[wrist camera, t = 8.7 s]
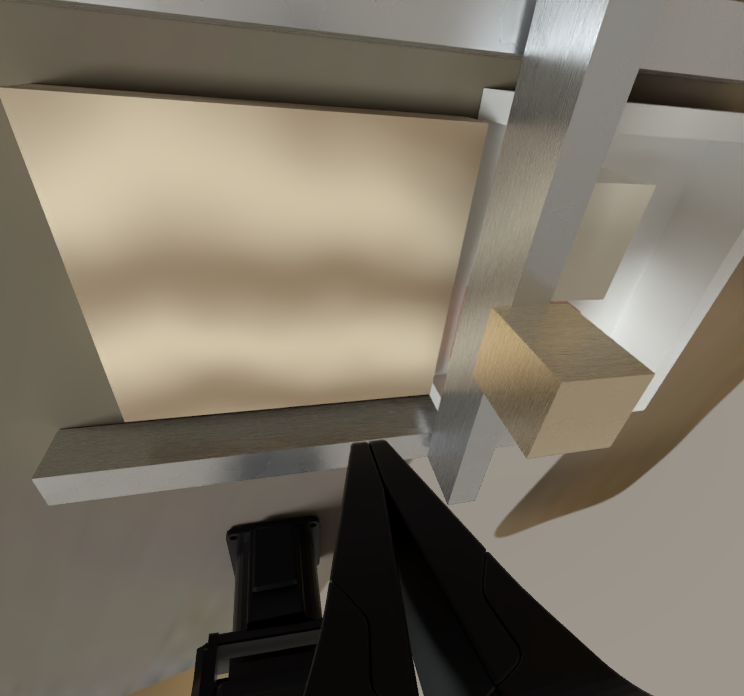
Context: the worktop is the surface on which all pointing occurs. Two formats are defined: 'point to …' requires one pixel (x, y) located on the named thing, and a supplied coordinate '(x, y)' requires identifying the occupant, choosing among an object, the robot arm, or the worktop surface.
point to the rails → (358, 419)
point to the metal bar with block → (544, 256)
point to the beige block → (603, 236)
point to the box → (643, 228)
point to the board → (251, 242)
